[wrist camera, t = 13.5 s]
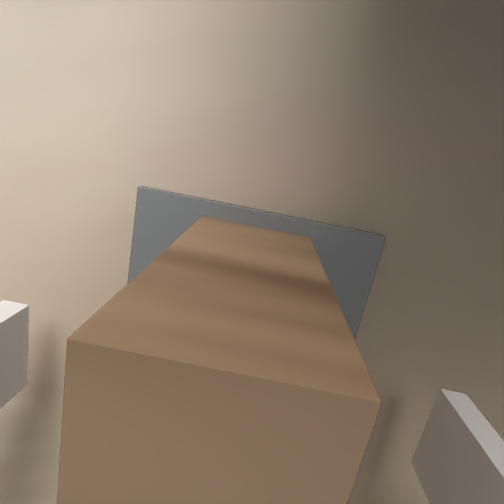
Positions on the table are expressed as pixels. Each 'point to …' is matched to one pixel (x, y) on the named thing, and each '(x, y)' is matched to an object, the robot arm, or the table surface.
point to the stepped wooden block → (217, 380)
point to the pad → (321, 234)
